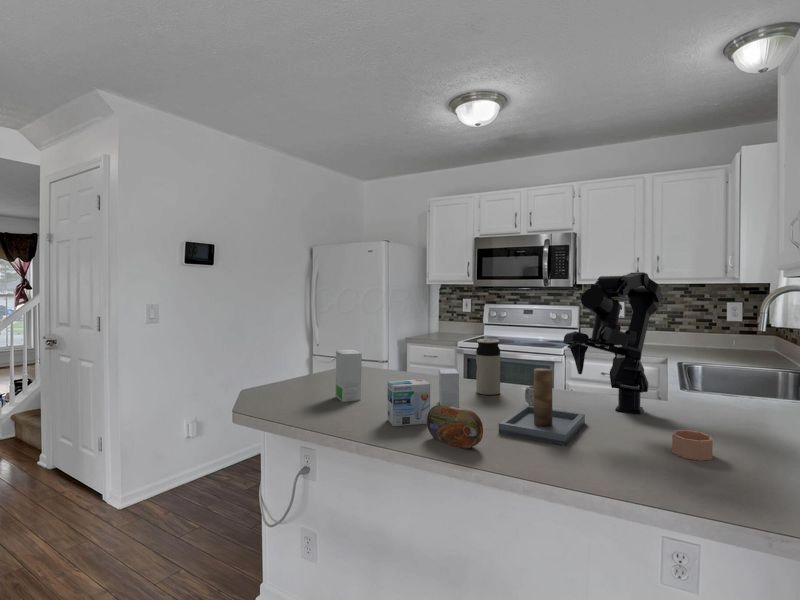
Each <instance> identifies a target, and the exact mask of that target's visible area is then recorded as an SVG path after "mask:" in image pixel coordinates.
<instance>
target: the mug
mask: <svg viewBox="0 0 800 600" xmlns="http://www.w3.org/2000/svg"><path fill="white" fill-rule="evenodd" d="M524 399H525V402H526V403H527V404H528V406H534V385H530V386H528V387H526V388H525V391H524Z"/></svg>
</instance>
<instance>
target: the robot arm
mask: <svg viewBox="0 0 800 600" xmlns="http://www.w3.org/2000/svg"><path fill="white" fill-rule="evenodd" d="M662 292H663V291H662V290H661V288H660V285H659V284H658V283H657V282H655V280H653V279H651V278H650V277H649V274H648V273H647V272H644V271H642V272H641V271H640V272H630V273H627V274H623V275H609V276H608V275H605V276H604V275H602V276H598V278H597V280H596V281H595V283H591V285H590V287H589V288H588V289H587V290H585V291H584V292H583V293H582V295H581V297H580V303H581V304H582V306H583V307H584V308H585V309H587V310H589V312H590V313H592V314H594V321H593V323H591V324H590V328H592V332H591V333H592V334H591V337H589V335H588V334H586V333H583V332H579V331H572V332H571V331H570V332H567V333H566V334H564V337H563V341H562V342H563V344H565V345H567V348H568V349H570V351H571V354H572V356H573V360H574V363H575V367H576V371H577V374H578V375H582V374H583V372H584V366H585V358H586V357H585V356H586V352H587V351H588V349H589V347H590V348H593V349H597V350H600V351H604V352H608V353H611V354H614V357H613V358H612V365H611V368H610V370H609V380H610V385H611V388H612V389H618V403H617V406H616V407H615V411H616V412H622V413H623V412H624V413H629V414H630V413H631V414H638V415H640V414H642V412H643V410H644V407H642V406H641V393H649V381H648V378H647V377H646V374H645V368H644V365H643V364H642V361H641V360H642V352H643V348H644V343H645V340H646V334H647V330H648V327H649V326H648V325H649V323H650V317H651V316H652V315H654V313H656V312H657V311H658V309H659V308H660V307H659V306H660V303H662V301H663V293H662ZM626 296H627V299H628V301H629V305H630V307H631V309H632V313H631V314H632V315H631V316H630V322H629V326H628V329H626V331H625V332H624V331H622V329H621V325H619V318H620V312H621V310H623V306H622V305H621V303H620V301H619V299H614V298H624V297H626Z"/></svg>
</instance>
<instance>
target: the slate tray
mask: <svg viewBox="0 0 800 600" xmlns="http://www.w3.org/2000/svg"><path fill="white" fill-rule="evenodd" d="M585 424H586V414H585V413H581V412H580V413H579V412H573V411H566V410H560V409H553V408H552V426H551V427H540V426H536V425H534V406H529V405H526V404H525V405H523V406H522V407H521V408H519V409H518V410H515V412H513V413H512V414H510V415H509V416H506V418H504V419H502V420H501V421H500V422H498V434H501V435H507V436H510V437H511V436H512V437H516V438H522V439H526V440H532V441H539V442H542V443H543V442H544V443H548V444H553V445H559V446H564V447H566V446H567V444H569V442H570V441H571V440H572V439H573V438H574V436H575V435H576V434H577V433H578V432H579V431H580V429H581V428H582V427H583V426H584V425H585Z"/></svg>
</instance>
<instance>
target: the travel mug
mask: <svg viewBox="0 0 800 600" xmlns="http://www.w3.org/2000/svg"><path fill="white" fill-rule="evenodd" d="M476 341H477V345H478V346H477V348H476V350H475V351H476V353H475V354H476V362H475V363H476V365H475V366H476V377H475V379H476V384H475V385H476V389H475V390H476V391H475V392H477V393H478V394H479V395H484V396H496V395H498V394H500V393H501V349H500V347H499V344H500V340H499V339H493V338H482V339H481V338H480V339H477V340H476Z"/></svg>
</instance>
